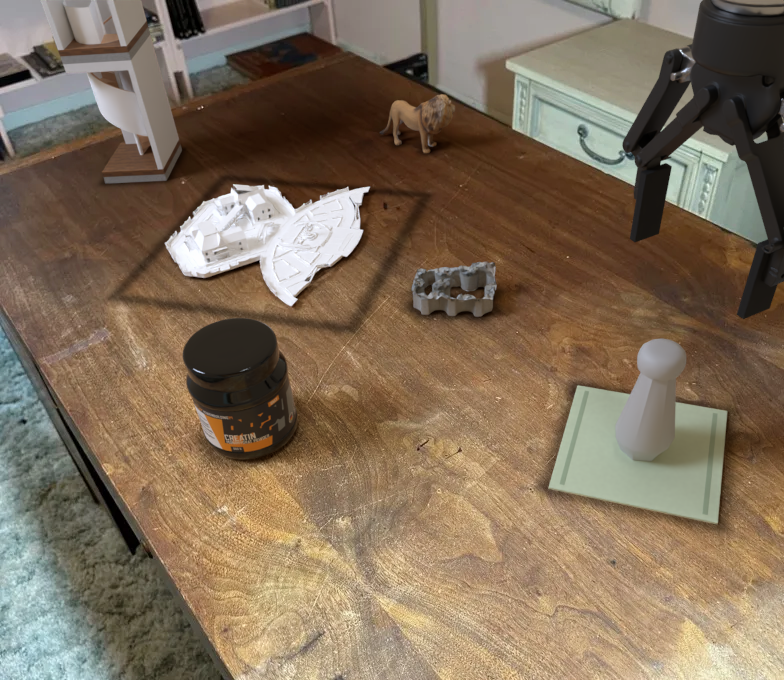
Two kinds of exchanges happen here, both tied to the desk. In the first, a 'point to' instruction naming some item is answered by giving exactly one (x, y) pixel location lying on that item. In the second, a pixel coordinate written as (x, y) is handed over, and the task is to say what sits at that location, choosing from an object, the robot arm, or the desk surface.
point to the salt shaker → (651, 401)
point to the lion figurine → (421, 118)
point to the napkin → (642, 478)
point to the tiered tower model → (120, 81)
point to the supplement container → (240, 388)
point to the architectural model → (269, 236)
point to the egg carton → (457, 276)
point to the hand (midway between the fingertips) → (695, 272)
